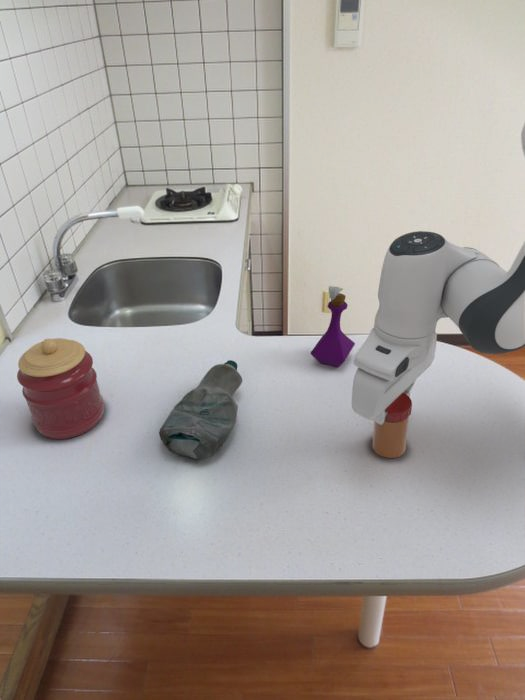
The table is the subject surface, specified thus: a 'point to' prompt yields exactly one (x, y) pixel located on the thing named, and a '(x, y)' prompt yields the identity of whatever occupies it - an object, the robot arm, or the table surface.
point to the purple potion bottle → (334, 334)
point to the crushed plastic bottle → (204, 414)
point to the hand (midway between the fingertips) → (391, 409)
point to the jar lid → (399, 408)
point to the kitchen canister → (60, 388)
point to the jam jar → (390, 438)
